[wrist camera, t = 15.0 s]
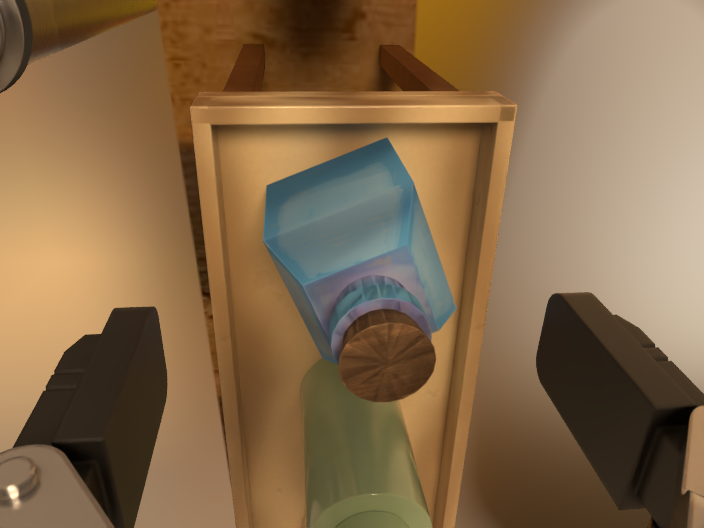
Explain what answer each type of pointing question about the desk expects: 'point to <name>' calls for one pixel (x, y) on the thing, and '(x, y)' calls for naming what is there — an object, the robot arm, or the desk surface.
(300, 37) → the desk surface
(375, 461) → the sage bottle
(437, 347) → the tray stand
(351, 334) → the perfume bottle
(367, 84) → the desk surface
